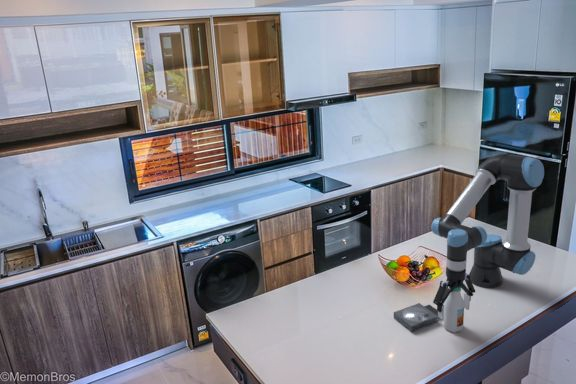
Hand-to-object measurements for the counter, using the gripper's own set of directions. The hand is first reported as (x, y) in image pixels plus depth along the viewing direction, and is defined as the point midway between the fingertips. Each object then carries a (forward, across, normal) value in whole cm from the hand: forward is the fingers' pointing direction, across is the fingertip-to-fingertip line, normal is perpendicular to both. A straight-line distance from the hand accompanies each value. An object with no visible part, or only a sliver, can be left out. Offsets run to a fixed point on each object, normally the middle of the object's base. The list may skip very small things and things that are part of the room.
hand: (453, 313), depth 198 cm
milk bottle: (+7, 0, 0) cm, 7 cm away
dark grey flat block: (+7, +8, -12) cm, 16 cm away
